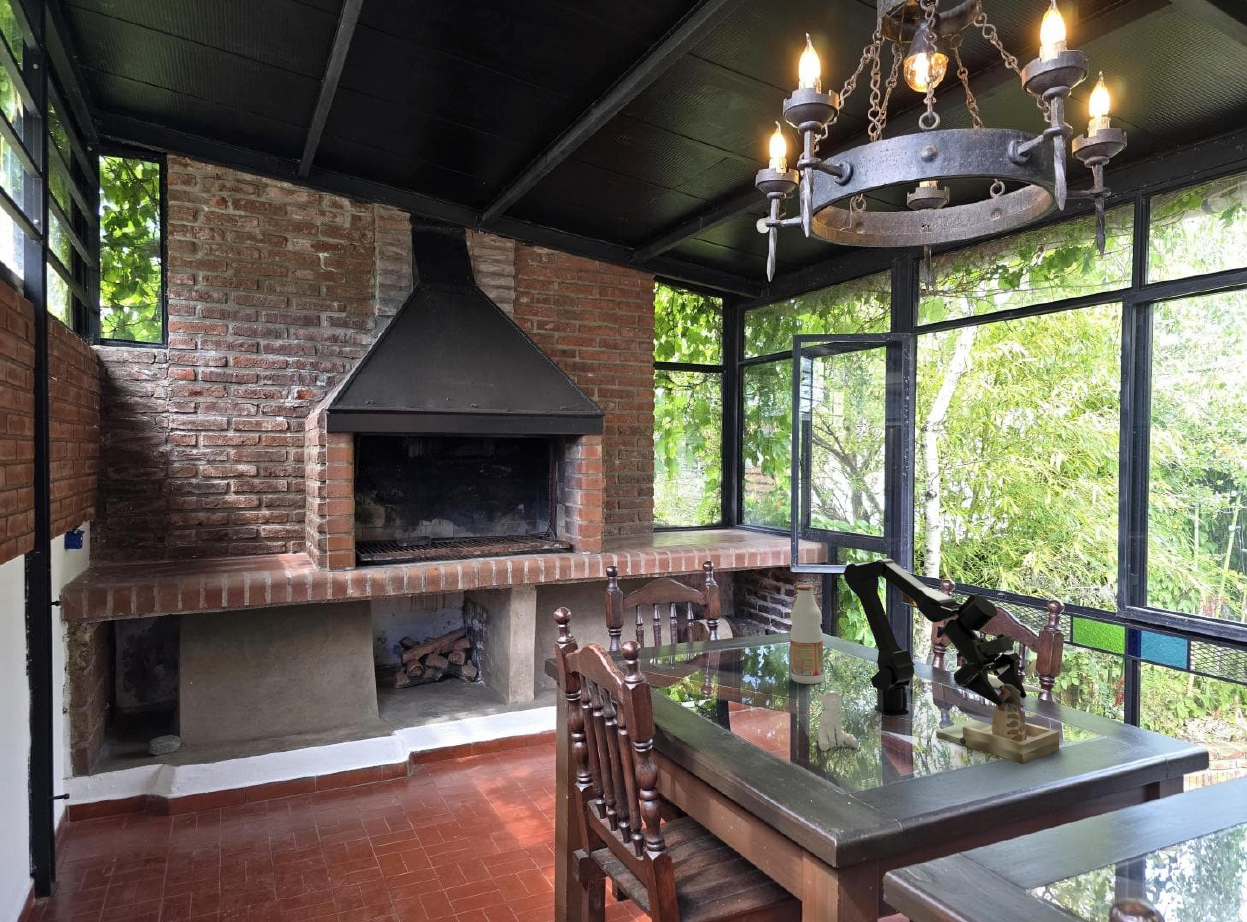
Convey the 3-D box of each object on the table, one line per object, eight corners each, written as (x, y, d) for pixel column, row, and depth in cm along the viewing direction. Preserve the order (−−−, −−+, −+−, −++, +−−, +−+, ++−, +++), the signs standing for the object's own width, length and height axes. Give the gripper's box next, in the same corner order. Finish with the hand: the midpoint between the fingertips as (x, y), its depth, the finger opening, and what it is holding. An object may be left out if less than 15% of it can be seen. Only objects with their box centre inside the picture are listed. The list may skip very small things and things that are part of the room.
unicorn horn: (1046, 697, 210) (1046, 679, 210) (953, 685, 224) (952, 668, 224) (1049, 693, 214) (1048, 675, 214) (957, 681, 228) (956, 664, 228)
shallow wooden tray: (935, 736, 182) (935, 719, 182) (972, 724, 190) (972, 707, 190) (1022, 764, 164) (1022, 745, 164) (1059, 749, 172) (1059, 731, 172)
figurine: (1035, 740, 172) (1033, 686, 172) (1010, 745, 170) (1008, 690, 170) (1008, 730, 179) (1007, 678, 179) (984, 735, 176) (983, 682, 176)
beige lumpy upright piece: (821, 752, 174) (819, 698, 174) (804, 739, 183) (803, 687, 183) (860, 748, 176) (858, 695, 176) (842, 735, 184) (840, 684, 184)
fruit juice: (799, 685, 226) (797, 589, 226) (786, 677, 235) (783, 584, 235) (829, 683, 228) (827, 587, 228) (815, 674, 237) (812, 582, 237)
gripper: (964, 627, 173) (1013, 688, 164) (1012, 616, 183) (1061, 674, 174) (934, 656, 180) (979, 716, 170) (982, 644, 190) (1027, 700, 180)
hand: (1013, 701), depth 173 cm, fingers open, 9 cm apart
